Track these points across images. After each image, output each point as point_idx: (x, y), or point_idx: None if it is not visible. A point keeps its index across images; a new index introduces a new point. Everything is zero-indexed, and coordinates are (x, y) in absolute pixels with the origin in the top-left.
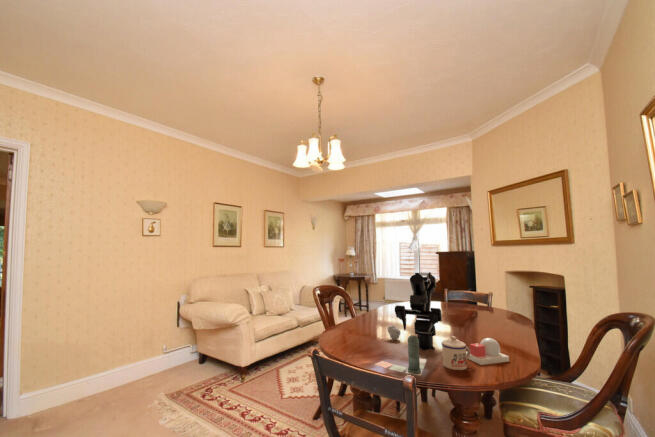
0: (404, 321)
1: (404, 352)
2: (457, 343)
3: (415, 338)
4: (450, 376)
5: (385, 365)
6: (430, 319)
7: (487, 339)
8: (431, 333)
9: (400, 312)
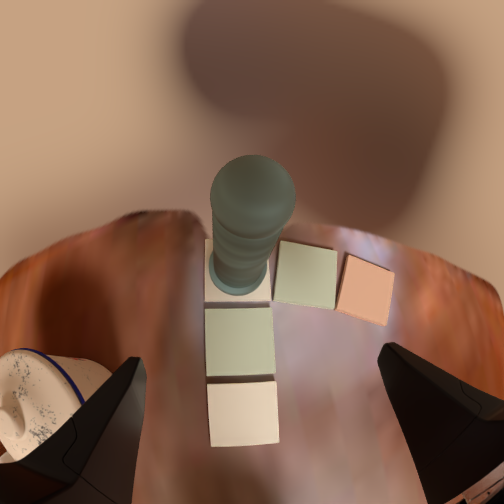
0: (442, 383)
1: (333, 489)
2: (3, 378)
3: (232, 160)
4: (99, 296)
5: (359, 280)
6: (59, 467)
7: None
8: None
9: None
